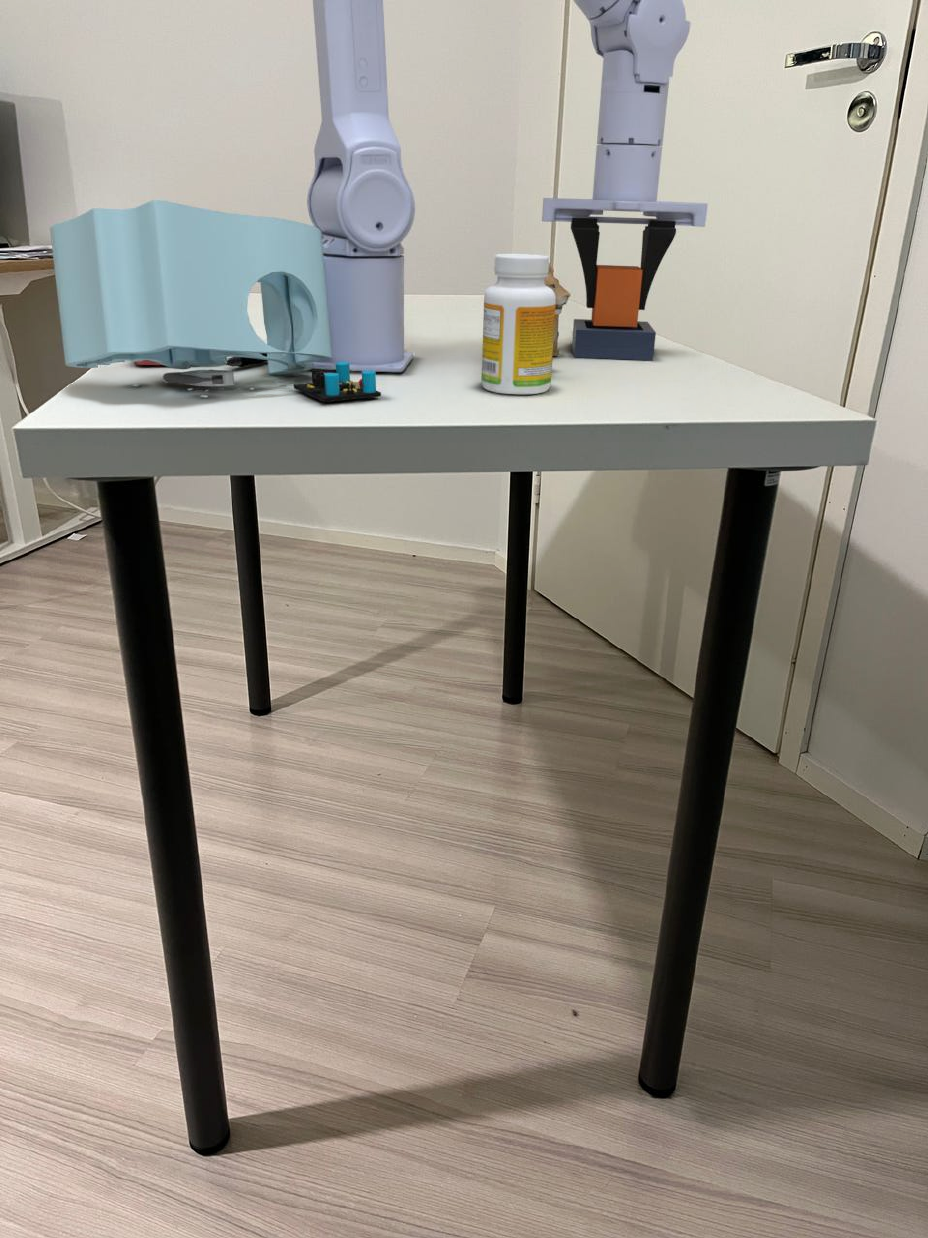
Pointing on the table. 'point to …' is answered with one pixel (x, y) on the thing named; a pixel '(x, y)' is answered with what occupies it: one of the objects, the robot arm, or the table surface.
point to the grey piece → (201, 377)
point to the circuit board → (340, 385)
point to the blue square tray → (613, 341)
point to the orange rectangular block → (617, 296)
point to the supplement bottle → (518, 326)
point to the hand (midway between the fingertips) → (614, 307)
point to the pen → (245, 361)
